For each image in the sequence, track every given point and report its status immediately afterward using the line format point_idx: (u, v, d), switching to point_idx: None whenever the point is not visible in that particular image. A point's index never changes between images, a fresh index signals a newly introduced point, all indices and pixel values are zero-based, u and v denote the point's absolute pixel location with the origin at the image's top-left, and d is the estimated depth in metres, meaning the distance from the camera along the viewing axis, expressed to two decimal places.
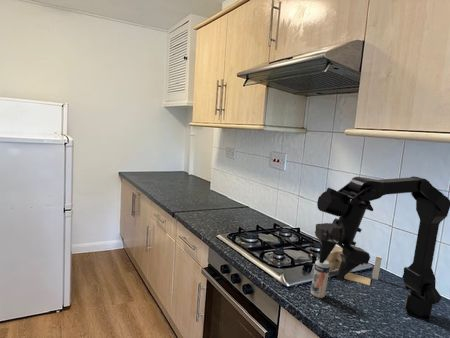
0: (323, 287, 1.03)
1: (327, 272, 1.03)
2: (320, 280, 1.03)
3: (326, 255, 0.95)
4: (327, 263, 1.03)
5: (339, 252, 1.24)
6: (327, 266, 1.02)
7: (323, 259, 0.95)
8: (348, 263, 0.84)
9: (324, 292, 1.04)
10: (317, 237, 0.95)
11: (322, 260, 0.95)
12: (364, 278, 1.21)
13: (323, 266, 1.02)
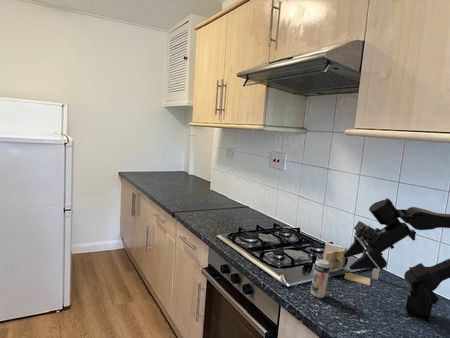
0: (323, 287, 1.03)
1: (327, 272, 1.03)
2: (320, 280, 1.03)
3: (352, 253, 1.07)
4: (327, 263, 1.03)
5: (339, 252, 1.24)
6: (327, 266, 1.02)
7: (348, 255, 1.07)
8: (365, 261, 0.96)
9: (324, 292, 1.04)
10: (354, 236, 1.08)
11: (346, 255, 1.07)
12: (364, 278, 1.21)
13: (323, 266, 1.02)
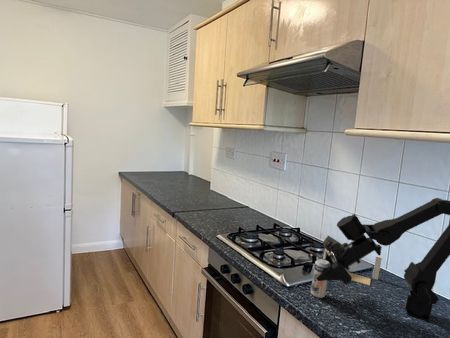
0: (323, 287, 1.03)
1: None
2: None
3: None
4: (327, 263, 1.03)
5: None
6: (327, 266, 1.02)
7: None
8: (331, 273, 1.01)
9: (324, 292, 1.04)
10: (325, 252, 1.08)
11: None
12: (364, 278, 1.21)
13: (323, 266, 1.02)
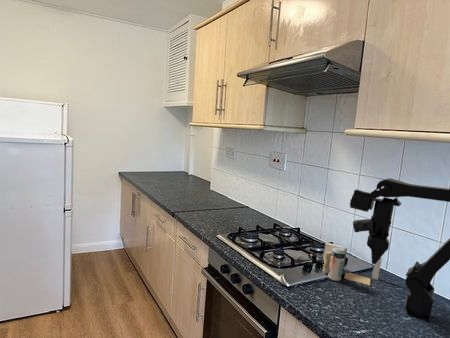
0: (334, 270, 1.16)
1: (338, 258, 1.15)
2: (332, 263, 1.17)
3: None
4: (340, 250, 1.16)
5: None
6: (338, 252, 1.15)
7: None
8: (376, 250, 1.02)
9: (335, 276, 1.16)
10: (369, 232, 1.14)
11: None
12: (364, 278, 1.21)
13: (334, 251, 1.16)
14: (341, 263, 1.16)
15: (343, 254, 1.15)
